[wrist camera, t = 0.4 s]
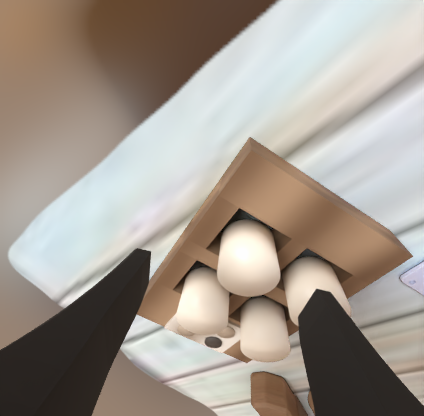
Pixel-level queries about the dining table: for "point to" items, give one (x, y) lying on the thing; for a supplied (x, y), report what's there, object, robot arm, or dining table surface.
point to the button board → (283, 237)
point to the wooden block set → (275, 396)
